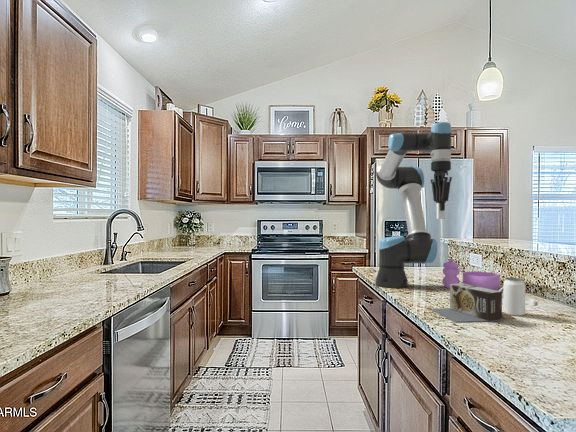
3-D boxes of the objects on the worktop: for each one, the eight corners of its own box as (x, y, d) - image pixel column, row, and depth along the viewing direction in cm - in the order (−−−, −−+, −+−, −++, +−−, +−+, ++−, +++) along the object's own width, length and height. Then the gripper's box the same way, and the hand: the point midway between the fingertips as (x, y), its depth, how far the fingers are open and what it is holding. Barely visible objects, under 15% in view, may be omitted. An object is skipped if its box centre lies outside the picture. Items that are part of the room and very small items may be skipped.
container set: (489, 284, 184) (489, 257, 184) (506, 291, 169) (506, 261, 169) (437, 284, 186) (437, 257, 185) (448, 290, 170) (449, 261, 170)
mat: (431, 309, 136) (431, 308, 136) (473, 308, 138) (473, 307, 138) (455, 322, 120) (455, 321, 120) (502, 321, 122) (502, 320, 122)
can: (505, 310, 135) (505, 276, 135) (526, 313, 131) (526, 278, 131) (501, 314, 130) (501, 279, 130) (523, 317, 126) (523, 281, 126)
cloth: (547, 307, 142) (547, 290, 142) (497, 307, 142) (497, 290, 142) (512, 294, 164) (512, 280, 164) (469, 294, 164) (469, 280, 164)
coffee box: (449, 284, 136) (488, 292, 121) (462, 282, 138) (502, 290, 123) (449, 309, 136) (488, 321, 121) (462, 307, 138) (503, 318, 123)
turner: (477, 307, 139) (477, 304, 139) (486, 307, 139) (486, 304, 139) (504, 319, 124) (504, 316, 124) (514, 319, 124) (514, 315, 124)
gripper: (424, 163, 161) (424, 218, 161) (440, 158, 148) (439, 219, 148) (441, 163, 162) (441, 218, 162) (458, 159, 149) (458, 219, 149)
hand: (440, 218), depth 155 cm, fingers closed
